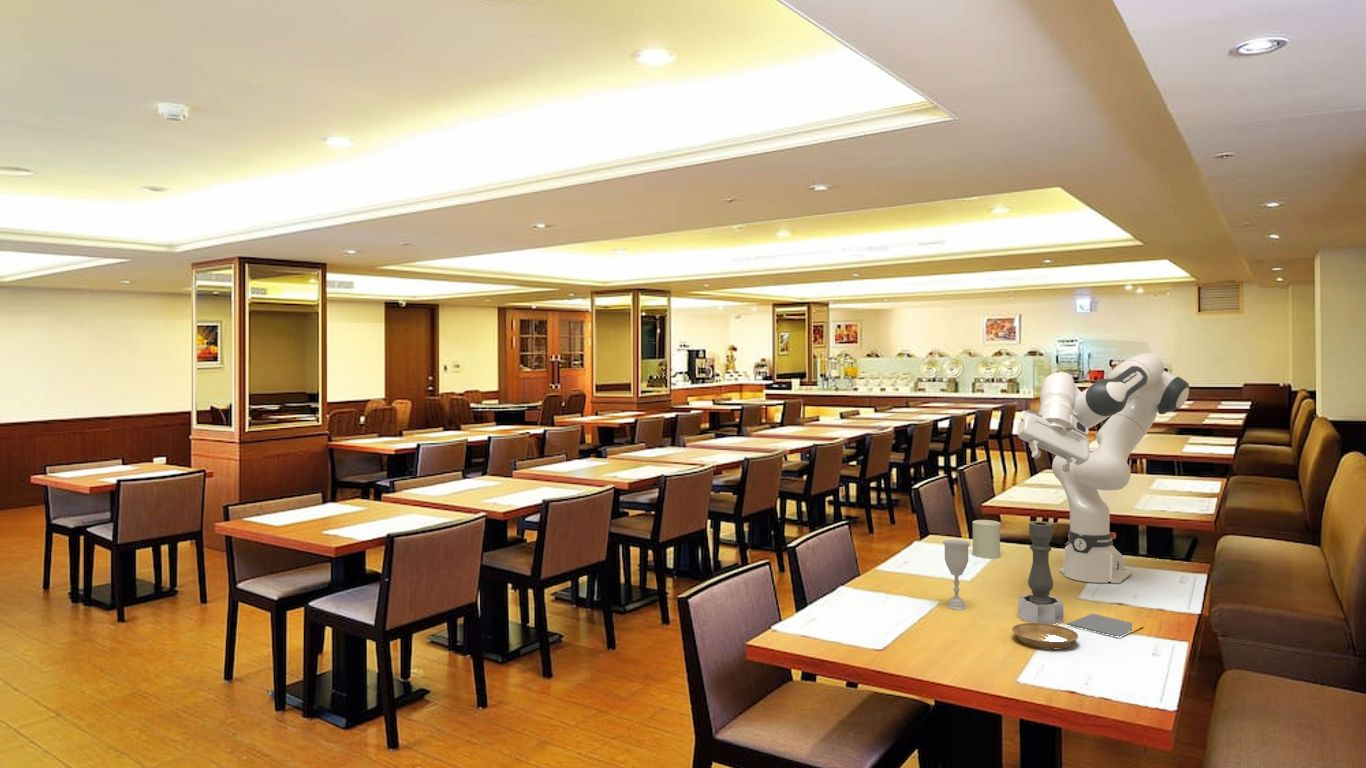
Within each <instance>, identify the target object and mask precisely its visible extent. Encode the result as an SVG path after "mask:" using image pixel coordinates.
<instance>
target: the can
mask: <svg viewBox="0 0 1366 768" xmlns="http://www.w3.org/2000/svg"><path fill="white" fill-rule="evenodd" d="M971 555H972V556H973V555H974V557H975V556H976V557H977V558H979V557H981V558H980V559H998V558H1000V557H1002V556H1001V522H999V521H998V520H997V521H996V520H990V519H977V520H973V521H972V553H971Z"/></svg>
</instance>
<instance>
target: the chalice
mask: <svg viewBox="0 0 1366 768" xmlns="http://www.w3.org/2000/svg"><path fill="white" fill-rule="evenodd" d="M942 543H943V545H944V561H945V563H946V566H947V568H948V571H949V573H950V574H951V575H952V576H954V577H953V578H954V581H953V582H952V583H953V585H954V587H953V589H952V590H953V592H954V594H953V597H951V598H950V599H949V601H948V604H947V605H946V607H947V608H948V609H951V610H958V611H961V610H966V609H967V606H966V604H965V602H964V600H963V598H961V597H960V596H959V591H961V589H960V588H959V584H960V581H959V577H960V576H962V575H963V573H964V572H965V569H966V568H967V565H968V563H969V546H970V544H971V541H968V540H963V539H953V538H952V539H944V540H942Z"/></svg>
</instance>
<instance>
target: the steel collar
mask: <svg viewBox="0 0 1366 768" xmlns="http://www.w3.org/2000/svg"><path fill="white" fill-rule="evenodd" d="M1032 595H1033V593H1025V594H1023V595H1022V594H1021V595H1019V596H1018V597H1017V606H1018V607H1017V614H1018V615H1017V616H1018V617H1019V618H1020V619H1021V620H1022V621H1024V622H1026V623H1046V624H1056V623H1058V622H1061V621H1063V622H1064V601H1063V600H1061V599H1060V597H1057V596H1053V595H1049V597H1050V598H1051V600H1052V604H1038V603H1033V602H1029V598H1030V597H1031V596H1032ZM1061 623H1062V622H1061ZM1058 624H1059V623H1058ZM1056 625H1057V624H1056Z"/></svg>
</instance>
